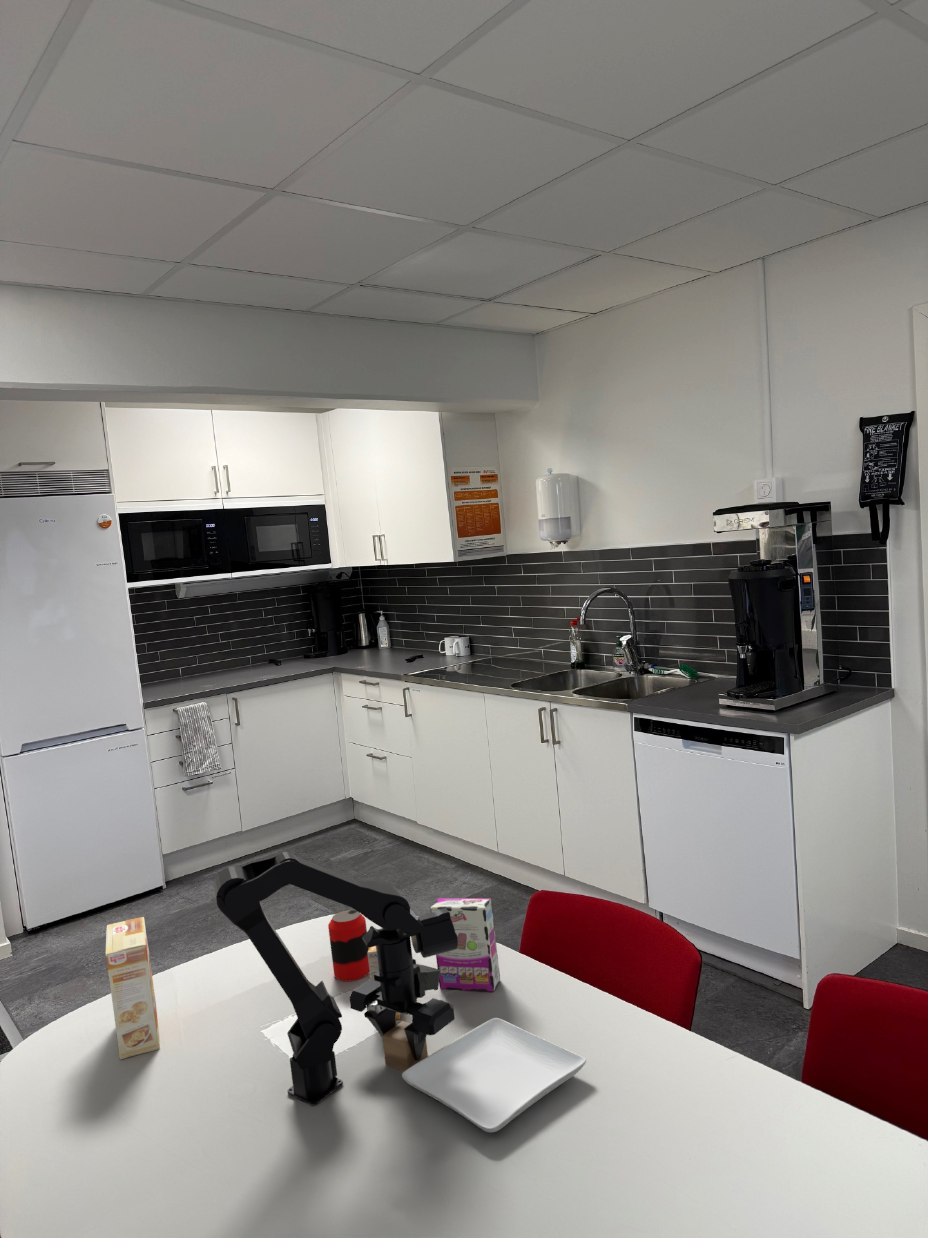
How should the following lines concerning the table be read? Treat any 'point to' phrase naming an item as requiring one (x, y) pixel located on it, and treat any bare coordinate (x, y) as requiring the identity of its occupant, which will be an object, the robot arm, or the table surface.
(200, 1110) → the table surface
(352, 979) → the soda can
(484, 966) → the candy bar box
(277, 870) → the robot arm
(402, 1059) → the walnut cube
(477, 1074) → the salad plate
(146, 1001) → the coffeecake box
